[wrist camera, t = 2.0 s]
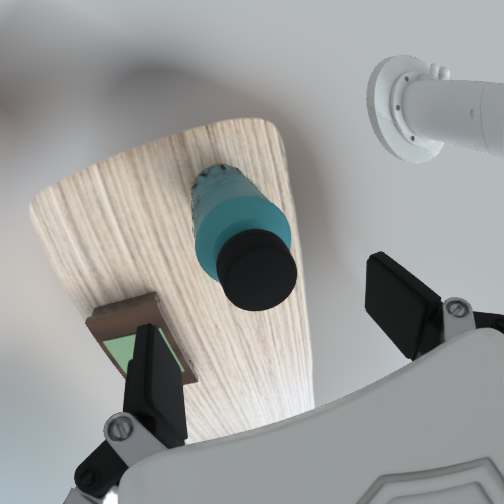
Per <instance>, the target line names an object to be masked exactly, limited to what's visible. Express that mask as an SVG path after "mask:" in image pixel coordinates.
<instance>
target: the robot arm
mask: <svg viewBox="0 0 504 504" xmlns="http://www.w3.org/2000/svg"><path fill="white" fill-rule="evenodd" d="M438 69H439V67H438V66H437V65H435V64H431V67H430V73H429V74H427V75H424V74H422V73H420V72H415V71H413V72H406V73H403V74H401V75H400V76H399V77H398V78H397V79H396V80H395V82H394V84H393V86H392V89H391V94H390V109H391V115H392V118H393V122H394V124H395V126H396V128H397V130H398V132H399V133H400V135H401V136H402V137H403V138H404V139H405V140H406V141H407V142H408V143H410V144H412V145H414V146H418V147H428V146H430V145H432V144H433V143H435V142H436V141H440V142H445V143H449V144H454V145H458V146H462V147H466V148H469V149H474V150H477V151H480V152H484V153H487V154H491V155H494V156H497V157H500V158H504V84H503V83H494V82H482V81H466V80H449V76H450V71H449V70H448V69H447V68H445V67H440V69H439V74H438V78H437V77H436V76H437V73H438ZM365 309H366V311H367V313H368V314H369V315H370V316H371V318H373V320H374V321H375V322H376V323H377V324H378V325H379V326H380V328H381V329H382V330H383V331H384V332H385V333H386V335H387V336H388V337H389V338H390V339H391V340H392V341H393V343H394V344H395V345H396V346H397V347H398V349H399V350H400V351H401V352H402V353H403V354H404V356H405V357H406V358H408V359H411V360H412V361H413V362H411V363H409V364H407V365H406V366H404V367H402V368H400V369H399V370H397V371H395V372H393V373H391V374H390V375H388V376H386V377H384V378H382V379H380V380H378V381H376V382H374V383H372V384H370V385H368V386H366V387H364V388H362V389H360V390H358V391H356V392H353V393H351V394H349V395H347V396H344V397H342V398H340V399H337V400H335V401H333V402H331V403H328V404H325V405H323V406H321V407H318V408H315V409H313V410H310V411H307V412H305V413H302V414H299V415H296V416H294V417H291V418H288V419H285V420H282V421H279V422H276V423H272V424H269V425H266V426H263V427H259V428H256V429H252V430H248V431H245V432H241V433H237V434H233V435H229V436H225V437H221V438H217V439H212V440H208V441H203V442H198V443H193V444H189V445H185V442H184V440H185V439H187V438H188V434H187V426H186V416H185V406H184V395H183V382H182V372H181V368H180V366H179V364H178V363H177V361H176V359H175V357H174V356H173V354H172V352H171V351H170V349H169V347H168V345H167V344H166V342H165V340H164V338H163V336H162V335H161V333H160V331H159V329H158V327H157V326H156V325H154V326H153V325H152V324H151V323H147V324H143V325H139V326H137V330H136V336H135V343H134V351H133V359H131V360H129V361H128V366H127V374H126V383H125V392H124V403H123V412H119V413H116V414H114V415H112V416H111V417H110V418H109V419H108V420H107V421H106V423H105V425H104V430H103V431H104V436H105V438H106V440H105V441H104V442H102V443H101V445H100V446H99V447H98V448H97V449H95V450H94V451H93V452H92V453H91V454H90V455H89V456H88V457H87V458H86V459H85V460H84V461H83V462H82V463H81V464H80V465H79V466H78V468H77V469H76V471H75V475H74V480H75V484H76V487H75V489H73V488H71V490H70V492H69V494H68V496H67V498H66V499H65V501H64V503H63V504H504V315H501V314H492V313H483V312H475V311H472V307H471V305H470V304H469V303H468V302H467V301H466V300H464V299H461V298H458V297H452V298H449V299H447V300H445V301H444V303H443V302H441V297H440V296H438V295H437V294H436V293H435V292H434V291H433V290H431V289H430V288H429V287H428V286H426V285H425V284H424V283H423V282H421V281H420V280H419V279H417V278H416V277H415V276H414V275H412V274H411V273H410V272H409V271H407V270H406V269H405V268H404V267H402V266H401V265H400V264H398V263H397V262H396V261H394V260H393V259H392V258H390V257H389V256H388V255H386V254H385V253H384V252H381V251H380V252H377V253H375V254H372V255H370V257H369V259H368V260H367V268H366V293H365Z"/></svg>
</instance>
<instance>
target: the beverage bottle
mask: <svg viewBox="0 0 504 504" xmlns="http://www.w3.org/2000/svg"><path fill="white" fill-rule="evenodd" d="M215 165H216V164H215ZM205 169H206V168H205ZM201 172H202V173H201V174H200V175H199V174H198V175H199V176H198V178H197V179H196V178H195V183H194V186H193V187H192V189H193V191H192V193H191V195H192V198H193V200H192V201H193V209H192V210H193V211H192V210H191V212H192V213H193V215H194V218H193V217H192V220H194V227H192V230H194V229H195V230H194V231H195V232H193V234H194V233H195V235H194V238H196V239H195V250H196V255H197V258H198V261H199V263H200V265H201V267H202V268H203V270H204V271H205V272H206V273H207V274H208V275H209V276H210V277H211V278H213V279H214V280H216V281H218V282H220V284H221V286H222V287H223V290H224V293H225V295H226V296H227V298H228V299H229V300H230V301H231V302H232V303H233V304H234V305H235V306H237V307H239V308H241V309H243V310H247V311H263V310H267V309H270V308H273V307H275V306H277V305H278V304H280V303H281V302H283V301H284V300H285V299H286V298H287V297H288V296H289V295H290V294H291V292H292V290H293V289H294V287H295V284H296V280H297V267H296V264H295V261H294V259H293V257H292V255H291V254H290V251H289V250H290V245H291V231H290V226H289V223H288V221H287V219H286V217H285V216H284V214H283V213H282V212H281V210H280V209H279V208H278V207H276V206H275V205H274V204H273V203H271V202H270V201H269V200H268V199H267V198H266V197H265V196H264V195H263V194H262V193H261V191H259V190H258V189H257V187H255V186H256V185H255V186H254V185H253V184H252V183H253V182H250V181H249V180H250V179H249V180H248V178H246V177H248V176H246V177H245V176H244V175H243V174H242V172H241V171H240V170H239V169H238V168H234V167H231V166H228V165H227V164H225V165H220V164H218V165H216V166H212V167H210V168H208V169H206V170H205V171H201ZM192 201H191V202H192ZM191 205H192V203H191Z"/></svg>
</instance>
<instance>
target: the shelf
mask: <svg viewBox="0 0 504 504" xmlns="http://www.w3.org/2000/svg"><path fill="white" fill-rule="evenodd" d="M147 323H151V324H152V325H153V326H154V325H156V326H157V327H158V329H159V331H160V333H161V335H162V336H163V338H164V340H165V342H166V344H167V345H168V347H169V349H170V351H171V352H172V354H173V356H174V357H175V359H176V361H177V363H178V364H179V366H180V368H181V372H182V382H183V385H186V384H190V383H195V382H198V376H197V374H196V372H195V370H194V366H193V364H192V362H191V360H188V358H187V356H186V354H185V352H184V351H183V349H182V347H181V345H180V343H179V341H178V339H177V337H176V336H175V334H174V332H173V330H172V328H171V326H170V324H169V322H168V320H167V318H166V316H165V314H164V312H163V310H162V307H161V305H160V299H159V297H158V295H157V293H156V292H153V293H149V294H146V295H142V296H138V297H135V298H131V299H127V300H124V301H120V302H116V303H113V304H109V305H105V306H102V307H98V308H95V309H94V311H93V314H92V316H91V317H89V318H87V320H86V322H85V324H86V325H87V327H88V328H89V330H90V332H91V333H92V335H93V336H94V338H95V339H96V340H97V342H98V343H99V345H100V346H101V347H102V349H103V350H104V352H105V353H106V355H107V356H108V357H109V359H110V360H111V361H112V363H113V364H114V365H115V367H116V368H117V369H118V371H119V372H120V373H121V374H122V376H123V377H124V378H125V379H126V374H127V366H128V361H129V360H131V359H133V351H134V343H135V336H136V330H137V326H139V325H143V324H147Z"/></svg>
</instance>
